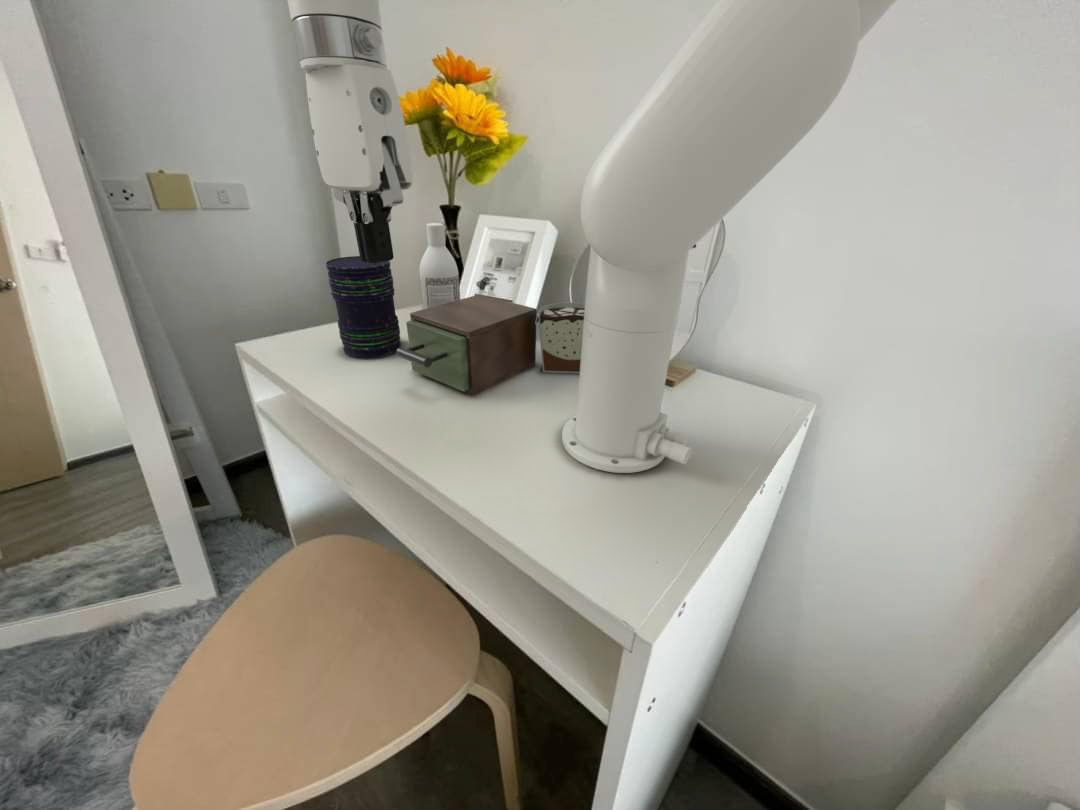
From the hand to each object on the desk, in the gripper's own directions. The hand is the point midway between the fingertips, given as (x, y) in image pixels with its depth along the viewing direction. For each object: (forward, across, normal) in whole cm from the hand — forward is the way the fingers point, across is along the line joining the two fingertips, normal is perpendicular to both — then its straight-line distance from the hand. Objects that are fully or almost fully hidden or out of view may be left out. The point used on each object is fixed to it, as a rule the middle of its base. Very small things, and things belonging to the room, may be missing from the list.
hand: (377, 260), depth 49 cm
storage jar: (+19, +23, -11) cm, 32 cm away
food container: (+20, -8, -28) cm, 35 cm away
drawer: (+19, +3, -13) cm, 23 cm away
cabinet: (+20, +3, -17) cm, 26 cm away
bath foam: (+20, +19, -24) cm, 36 cm away
